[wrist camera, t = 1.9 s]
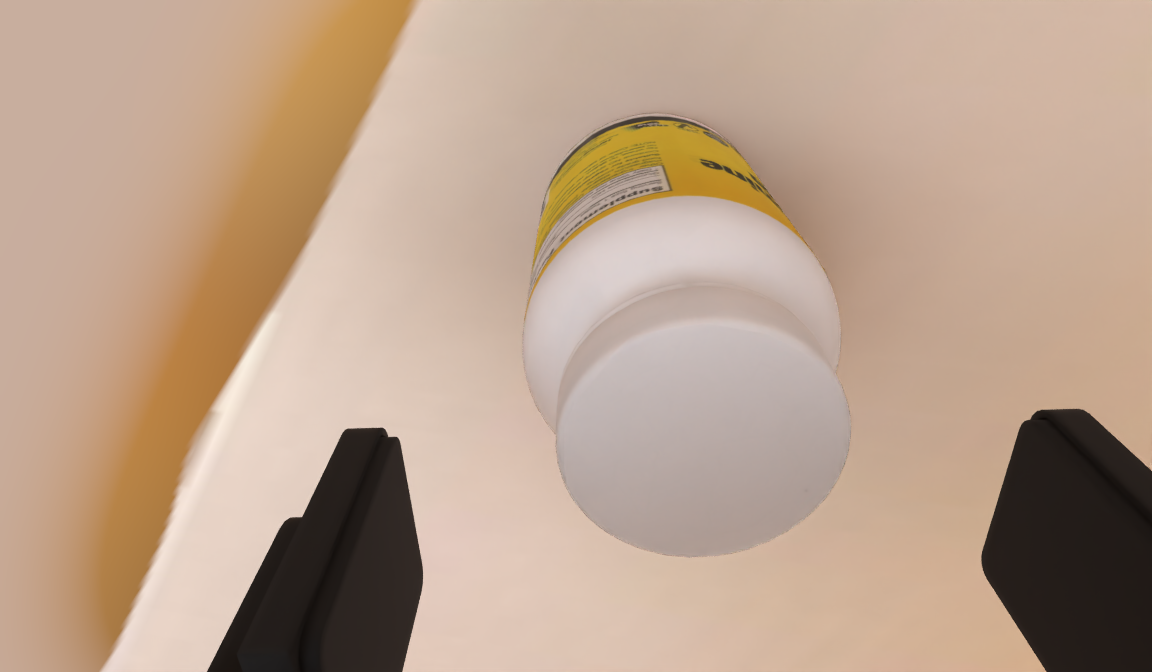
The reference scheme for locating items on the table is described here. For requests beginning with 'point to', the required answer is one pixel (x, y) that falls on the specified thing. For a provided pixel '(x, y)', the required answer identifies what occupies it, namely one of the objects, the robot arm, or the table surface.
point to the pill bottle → (682, 343)
